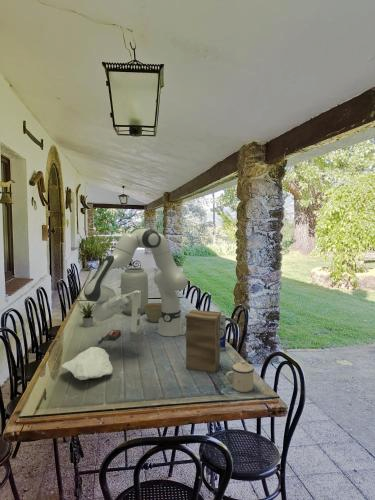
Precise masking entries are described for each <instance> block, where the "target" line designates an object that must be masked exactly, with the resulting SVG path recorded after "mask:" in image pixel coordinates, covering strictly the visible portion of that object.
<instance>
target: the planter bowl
mask: <svg viewBox="0 0 375 500" xmlns="http://www.w3.org/2000/svg"><path fill="white" fill-rule="evenodd" d="M144 307H145V312H144V314H145V316H146V317H147V319H148V321H149V322H151V323H159V319H160V318H161V310H162V305H161V302H150V303H149V302H148V304H146V305H144Z"/></svg>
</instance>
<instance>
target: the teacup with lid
mask: <svg viewBox="0 0 375 500" xmlns="http://www.w3.org/2000/svg"><path fill="white" fill-rule="evenodd" d="M254 372H255V368H254V366H253V365H252V364H250V363H247V362H246V360H241V361H240V362H236V363H235V364H233V365H232V370H231V371H228V372H226V374H225V380H226V381H227V382H228V383H229V384H232V388H233V389H234V390H235V391H237V392H242V393H248V392H250V391H252V390H253V389H254ZM231 374H232V380H230V379H228V377H229V375H231Z"/></svg>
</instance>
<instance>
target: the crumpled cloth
mask: <svg viewBox="0 0 375 500" xmlns="http://www.w3.org/2000/svg"><path fill="white" fill-rule="evenodd" d="M61 368H62V369H64V370H66V371H69V372H71V374H72V375H73V376H74V378H75V379H78V380H79V381H83V380H85V381H86V380H88V379H98V378H102V377H103V376H109V375H111V374H112V373H113V365H112V363H111V361H110V354H108V353H107V352H106V350H105V349H104V348H101V347H100V346H91V347H89V348H86V349H85V350H83V351H81V352H79V353H78V354H77V355H76V356H75V357H74V358H73V359H71V360H69V361H66V362H64V363H63V364H62V365H61Z"/></svg>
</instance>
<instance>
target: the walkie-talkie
mask: <svg viewBox="0 0 375 500" xmlns="http://www.w3.org/2000/svg"><path fill="white" fill-rule="evenodd" d="M121 335H122V331H121V330H120V329H112V330H110V331H109V332H108V333H104V335H101V339H99V340H98V342H97V344H100V343H101V342H102V341H115V340H116V339H117V338H118V339H119V338H120V336H121ZM118 339H117V340H118ZM117 340H116V341H117Z"/></svg>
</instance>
